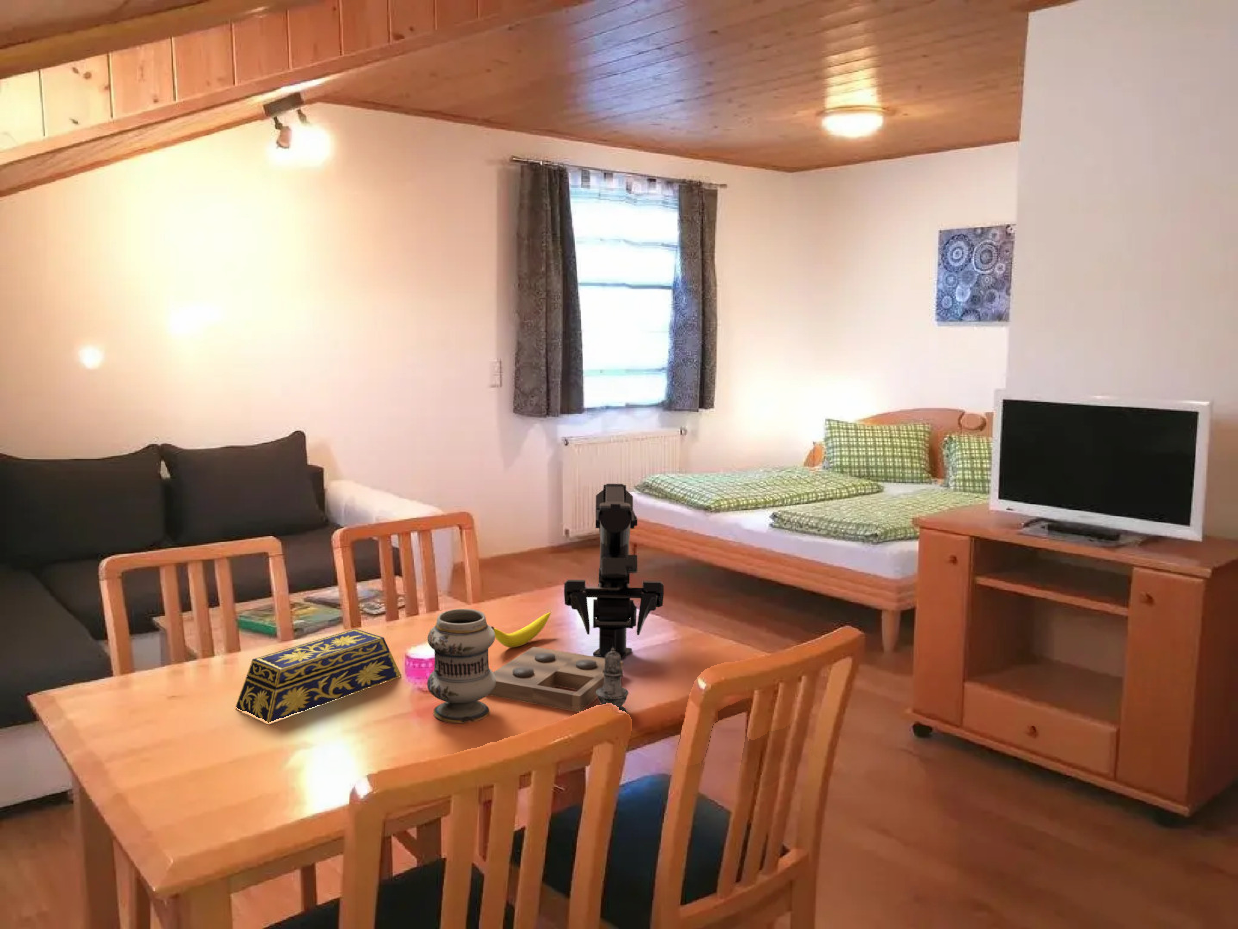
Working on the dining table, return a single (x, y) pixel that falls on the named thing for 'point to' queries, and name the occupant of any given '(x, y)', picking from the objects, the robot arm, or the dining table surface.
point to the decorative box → (315, 674)
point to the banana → (521, 633)
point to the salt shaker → (612, 682)
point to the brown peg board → (551, 678)
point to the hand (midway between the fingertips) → (613, 633)
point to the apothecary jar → (461, 665)
